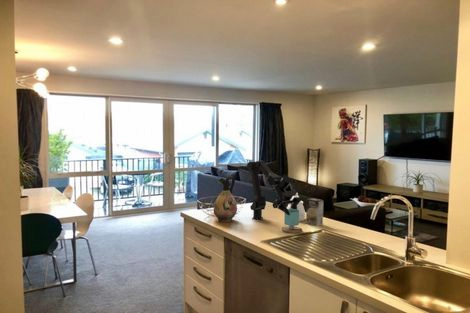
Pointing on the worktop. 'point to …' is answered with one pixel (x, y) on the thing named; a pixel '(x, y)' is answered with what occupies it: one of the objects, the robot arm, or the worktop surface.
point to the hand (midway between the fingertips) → (293, 214)
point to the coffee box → (314, 212)
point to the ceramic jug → (225, 201)
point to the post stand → (291, 229)
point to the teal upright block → (292, 217)
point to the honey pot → (300, 208)
